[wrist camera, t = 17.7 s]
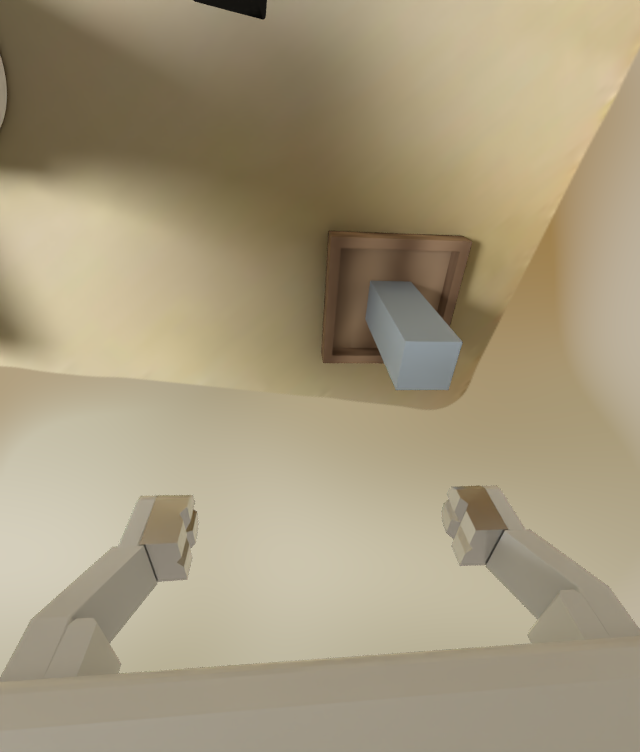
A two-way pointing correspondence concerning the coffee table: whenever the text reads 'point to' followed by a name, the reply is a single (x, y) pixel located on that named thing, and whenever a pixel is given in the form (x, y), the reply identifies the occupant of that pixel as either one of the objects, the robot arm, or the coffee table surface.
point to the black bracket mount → (240, 6)
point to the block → (411, 337)
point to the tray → (384, 263)
